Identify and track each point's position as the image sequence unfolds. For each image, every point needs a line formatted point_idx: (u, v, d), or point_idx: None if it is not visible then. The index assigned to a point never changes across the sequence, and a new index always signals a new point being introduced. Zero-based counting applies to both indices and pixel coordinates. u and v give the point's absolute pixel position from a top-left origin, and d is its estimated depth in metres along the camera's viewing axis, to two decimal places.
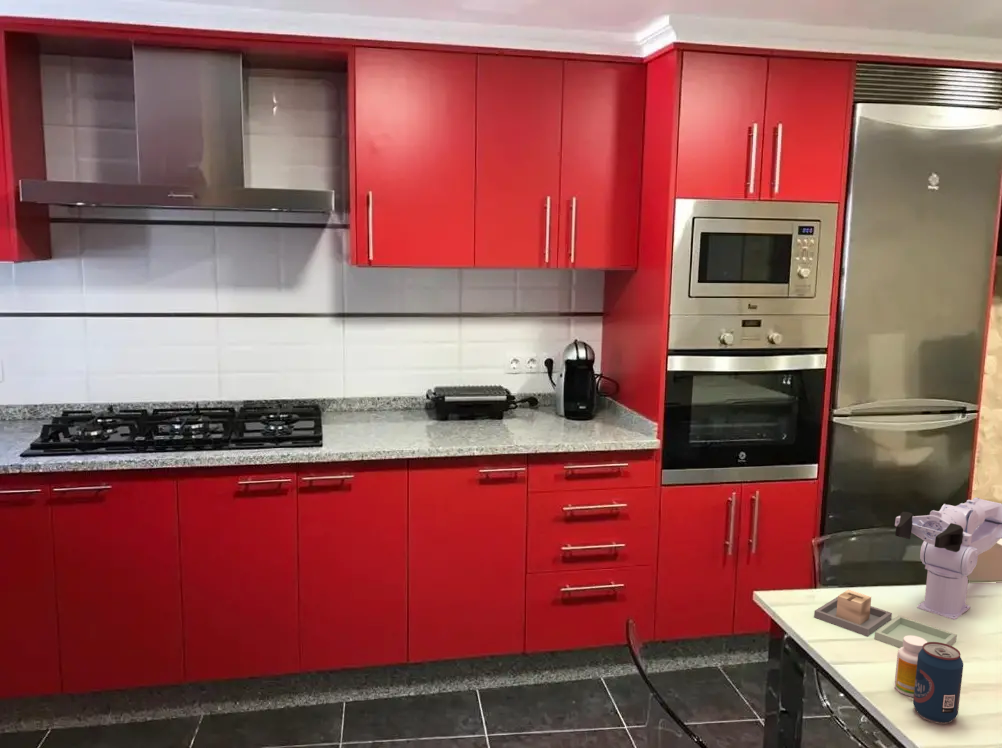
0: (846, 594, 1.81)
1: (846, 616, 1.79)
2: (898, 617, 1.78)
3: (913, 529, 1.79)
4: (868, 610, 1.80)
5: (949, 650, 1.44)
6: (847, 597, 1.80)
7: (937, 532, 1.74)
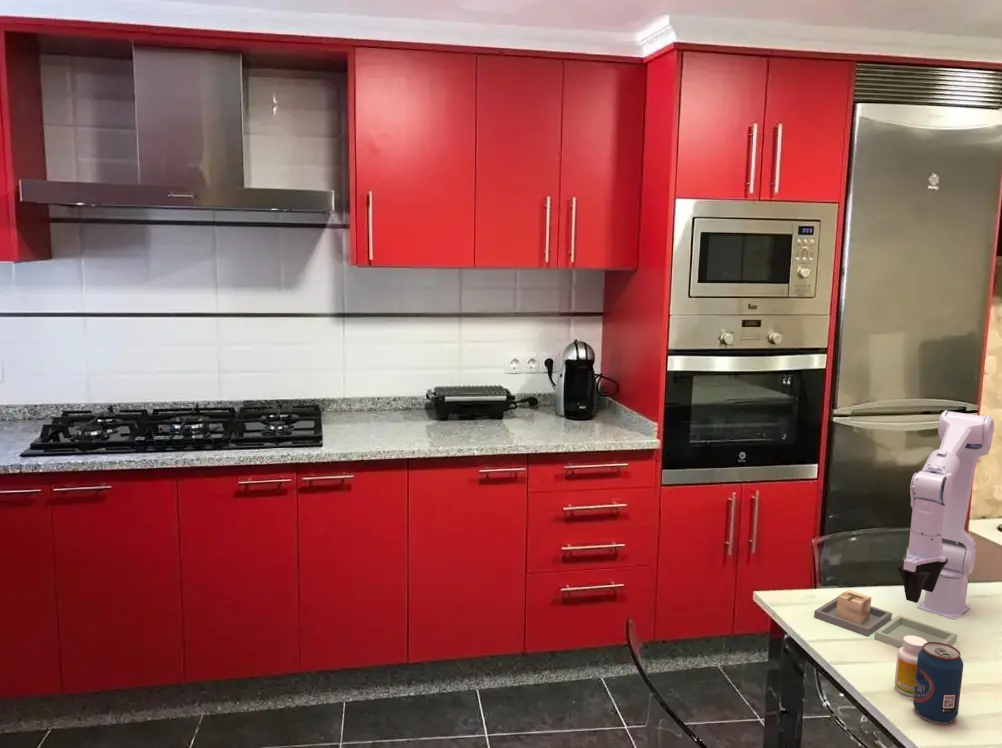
0: (846, 594, 1.81)
1: (846, 616, 1.79)
2: (898, 617, 1.78)
3: None
4: (868, 610, 1.80)
5: (949, 650, 1.44)
6: (847, 597, 1.80)
7: None
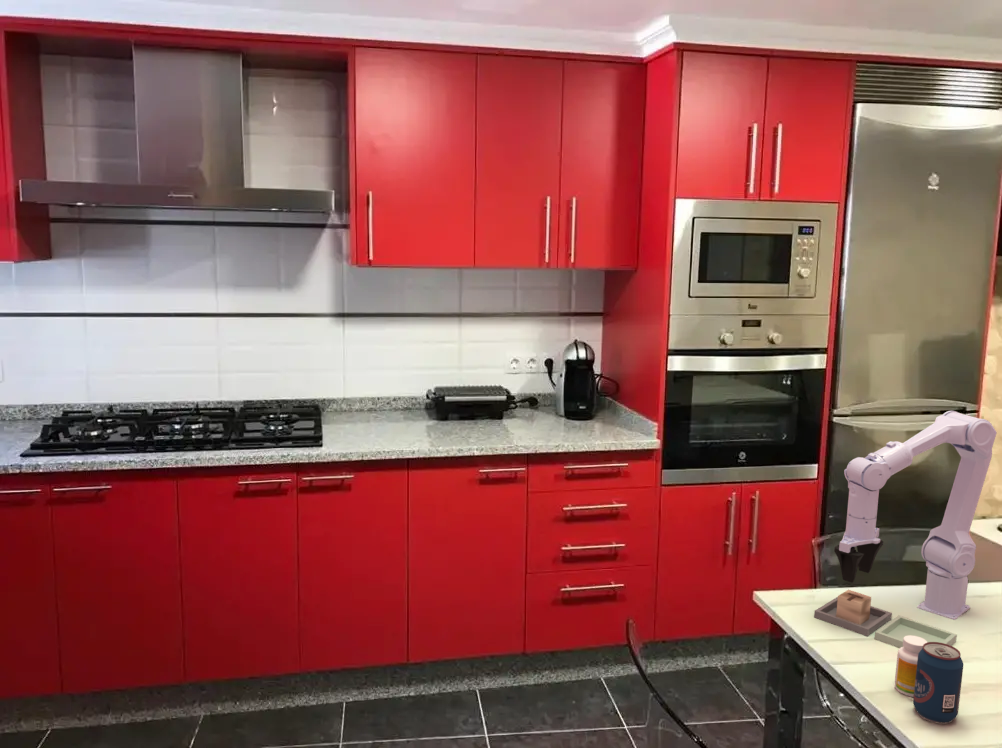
0: (846, 594, 1.81)
1: (846, 616, 1.79)
2: (898, 617, 1.78)
3: None
4: (868, 610, 1.80)
5: (949, 650, 1.44)
6: (847, 597, 1.80)
7: None
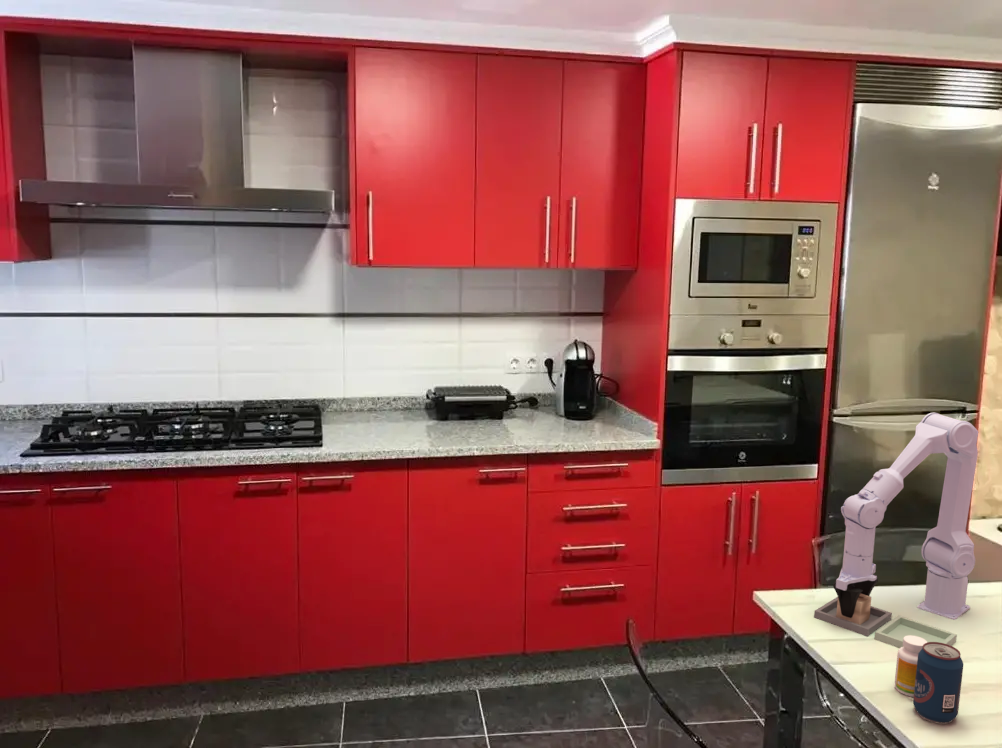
0: None
1: None
2: (898, 617, 1.78)
3: None
4: (868, 610, 1.80)
5: (949, 650, 1.44)
6: None
7: None
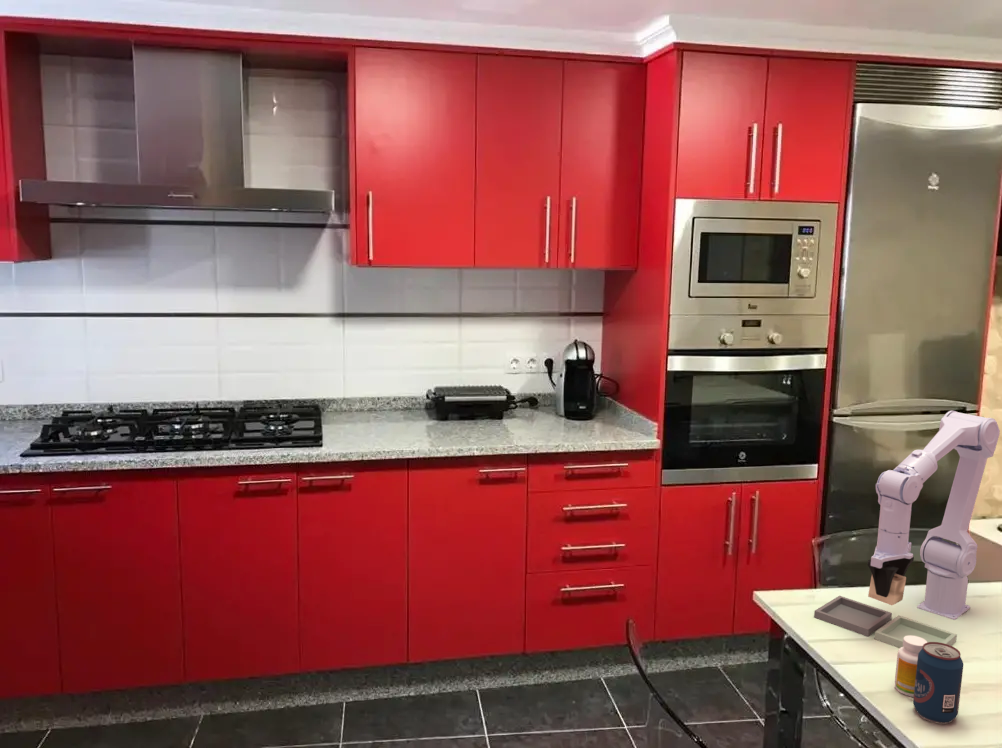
0: None
1: (879, 595, 1.74)
2: (898, 617, 1.78)
3: None
4: (902, 590, 1.74)
5: (949, 650, 1.44)
6: None
7: None
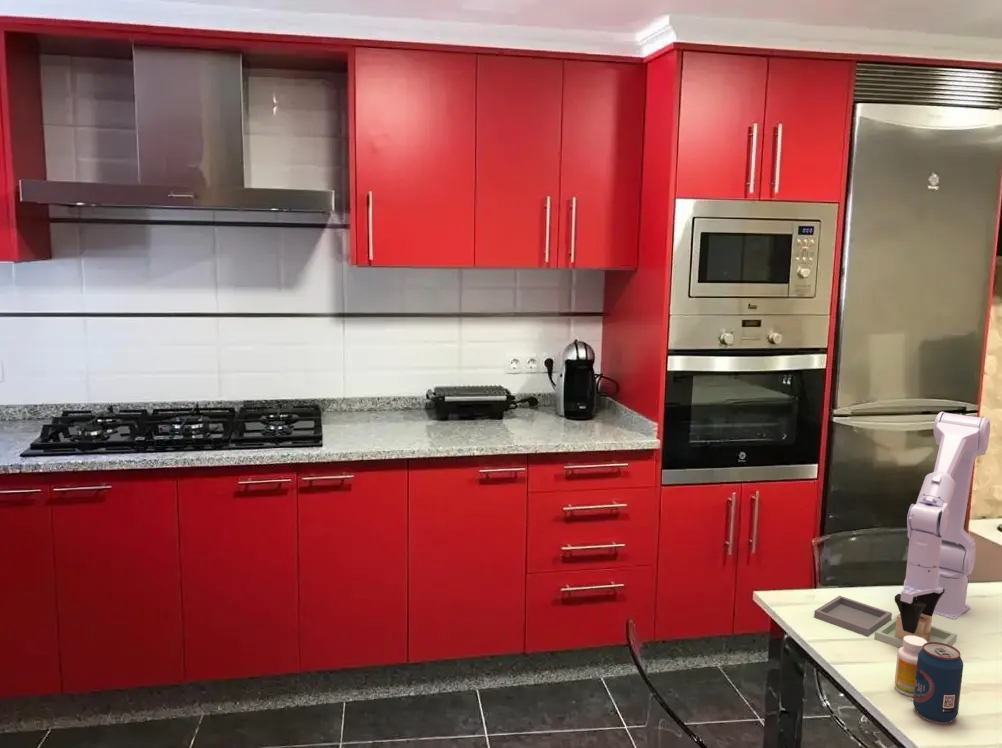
0: None
1: None
2: None
3: None
4: (929, 631, 1.71)
5: (949, 650, 1.44)
6: None
7: None
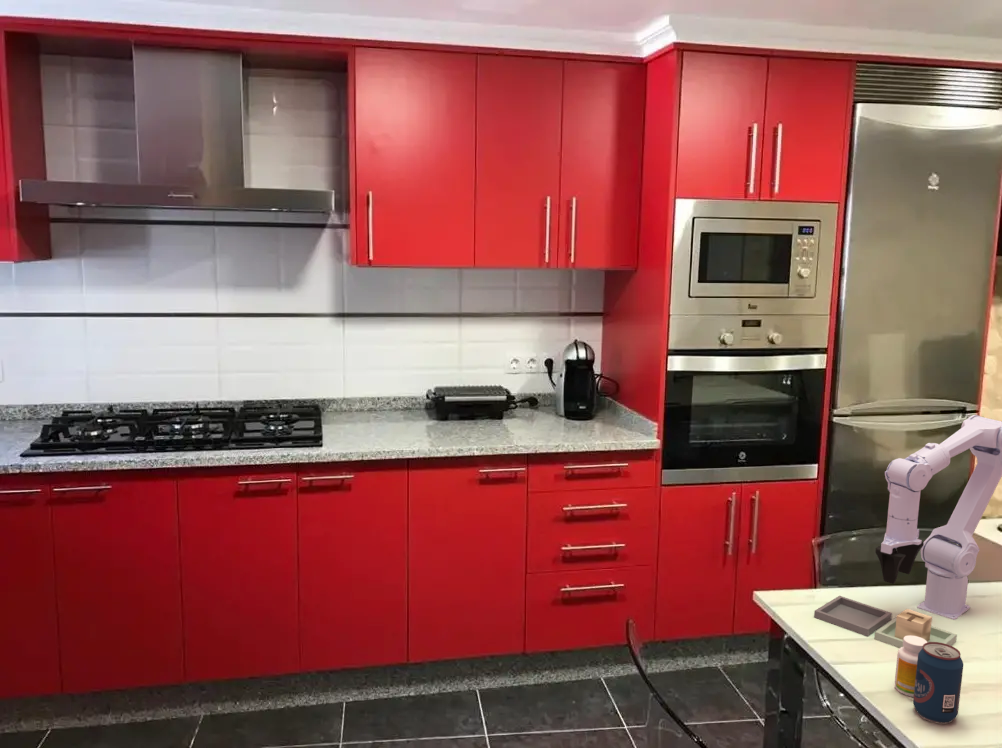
0: (905, 614, 1.72)
1: None
2: None
3: None
4: (929, 631, 1.71)
5: (949, 650, 1.44)
6: (906, 617, 1.71)
7: None
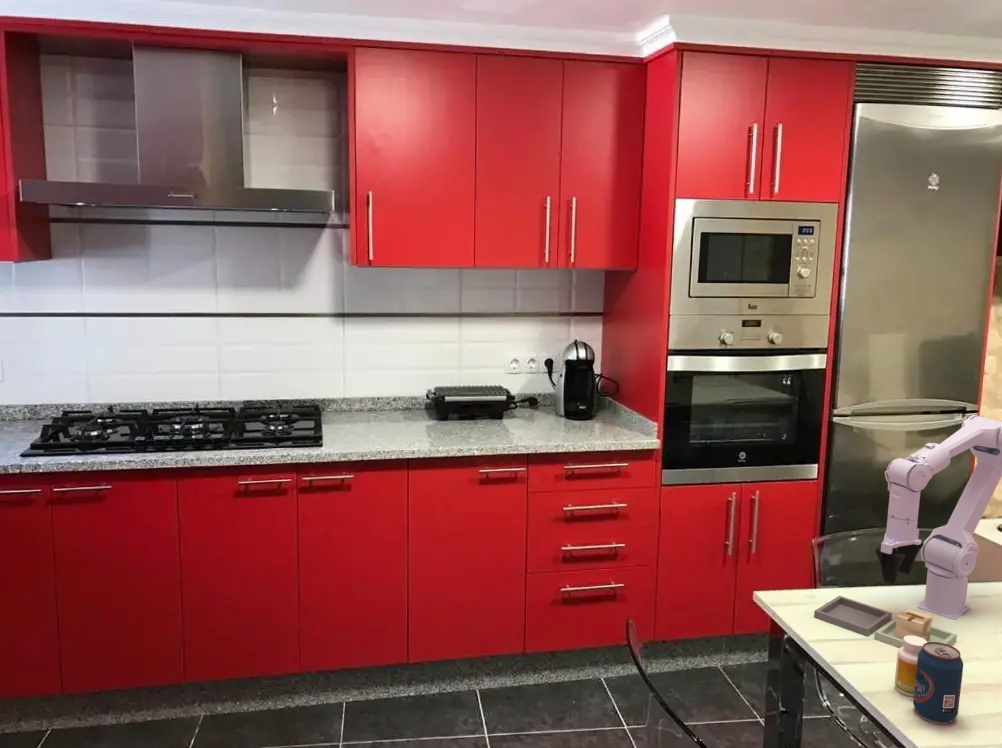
0: (905, 614, 1.72)
1: None
2: None
3: None
4: (929, 631, 1.71)
5: (949, 650, 1.44)
6: (906, 617, 1.71)
7: None
